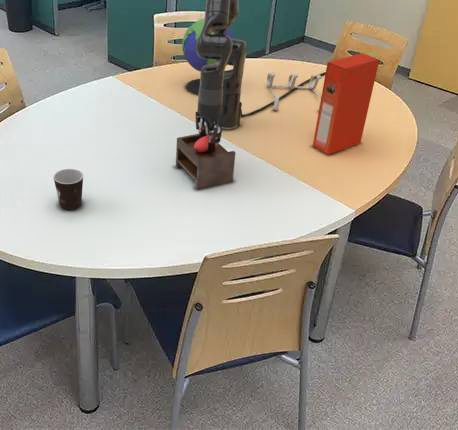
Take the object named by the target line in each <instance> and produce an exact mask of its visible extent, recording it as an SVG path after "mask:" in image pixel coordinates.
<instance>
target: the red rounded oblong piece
mask: <svg viewBox="0 0 458 430" xmlns="http://www.w3.org/2000/svg"><path fill="white" fill-rule="evenodd" d="M212 136H213V135H211V139H212ZM208 142H209V140H208V136H204V137H202V138H200V139H199V140H198V141H197V142H196V143H195V144H194V150H195V151H196V152H199V153H202V152H207V151H208ZM217 145H218V143H216V144H215V148H216V147H217Z"/></svg>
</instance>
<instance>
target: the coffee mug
mask: <svg viewBox="0 0 458 430" xmlns="http://www.w3.org/2000/svg"><path fill="white" fill-rule="evenodd" d="M53 181H54V186H55V190H56V194H57V198H58V203H59V207H60V208H61V209H62V210H63V211H64V210H65V211H69V212H70V211H75V210H79V209H80V208H81V207H82V200H83V185H84V174H83V172H82V171H81V170H78V169H76V168H64V169H60V170H58V171H57V172H55V173H54V174H53Z"/></svg>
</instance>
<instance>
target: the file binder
mask: <svg viewBox="0 0 458 430" xmlns="http://www.w3.org/2000/svg"><path fill="white" fill-rule="evenodd" d="M379 64H380V59H379V58H377V57H374V56H371V55H368V54H366V53H357V54H353V55H349V56H346V57H341V58H338V59H334V60H331V61H327V64H326V69H325V72H326V74H324V80H323V84H322V90H321V91H322V92H321V95H320V96H321V98H320V99H321V100H320V102H319V107H318V113H317V120H316V123H315V131H314V136H313V142H312V148H314V149H316V150H317V151H320V152H321V153H323V154H325V155H331V154H335V153H337V152H340V151H343V150H345V149H348V148H352V147H354V146H357V145H360V144H361V142H362V138H363V134H364V129H365V125H366V120H367V117H368V112H369V108H370V104H371V99H372V94H373V90H374V85H375V82H376V76H377V73H378V68H379Z"/></svg>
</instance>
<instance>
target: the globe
mask: <svg viewBox="0 0 458 430" xmlns="http://www.w3.org/2000/svg"><path fill="white" fill-rule="evenodd" d="M204 20H205V17H204V18H201V19H198V20H196V21H194V22H193V23H192V24H191V25H190V26H189V27H188V28H187V29H186V31H185V32H184V34H183V38H182V42H181V43H182V44H181V51H182V54H183V56H184V57H185V60H186V62H187V63H188V64H189V66H190V67H192V68H193V69H194V70H196V71H198V72H200V73H199V74H200V75H201V69H202V67H203V66H205V65H209V64H214V63H217V61H216V59H203V58H200V57H199V56H198V55H197V53H196V43H197V40H198V38H199V35H200V33H201V31H202V28H203V24H204ZM211 34H214V32H212V33H211ZM226 35H227V36H229V37H230V38H232V39H235V37H234V34H233V32H232V30H231V29H230V27H229V28H228V29H227V31H226ZM227 66H228V65H226V67H227ZM199 88H200V78H196V79H192V80H190V81H188V83H186V85H185V89H186V90H187V91H188V92H189V93H191V94H193V95H196V96H198V94H199Z"/></svg>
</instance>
